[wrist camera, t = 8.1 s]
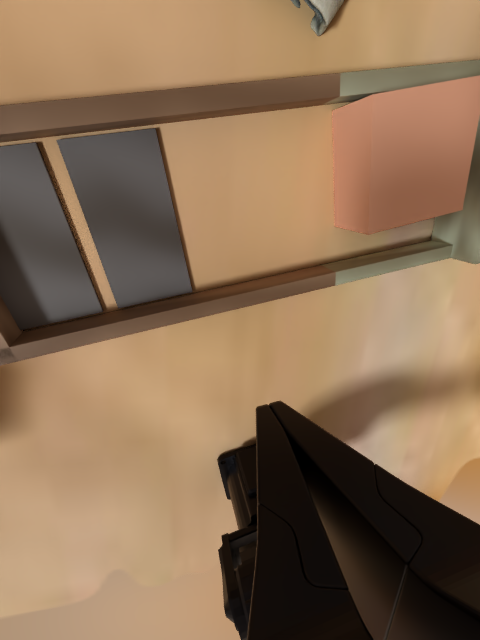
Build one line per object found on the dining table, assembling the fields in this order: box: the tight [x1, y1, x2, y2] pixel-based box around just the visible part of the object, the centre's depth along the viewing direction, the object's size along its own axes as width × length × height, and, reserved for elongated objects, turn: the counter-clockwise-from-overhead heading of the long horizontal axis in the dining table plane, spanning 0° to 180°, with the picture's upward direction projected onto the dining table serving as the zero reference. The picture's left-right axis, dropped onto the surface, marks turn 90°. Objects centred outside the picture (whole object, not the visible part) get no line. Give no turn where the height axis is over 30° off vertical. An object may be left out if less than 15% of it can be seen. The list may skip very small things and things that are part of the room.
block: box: [332, 75, 480, 235], centre depth 18 cm, size 7×7×4 cm
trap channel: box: [0, 60, 480, 365], centre depth 17 cm, size 12×34×4 cm, turn 98°
